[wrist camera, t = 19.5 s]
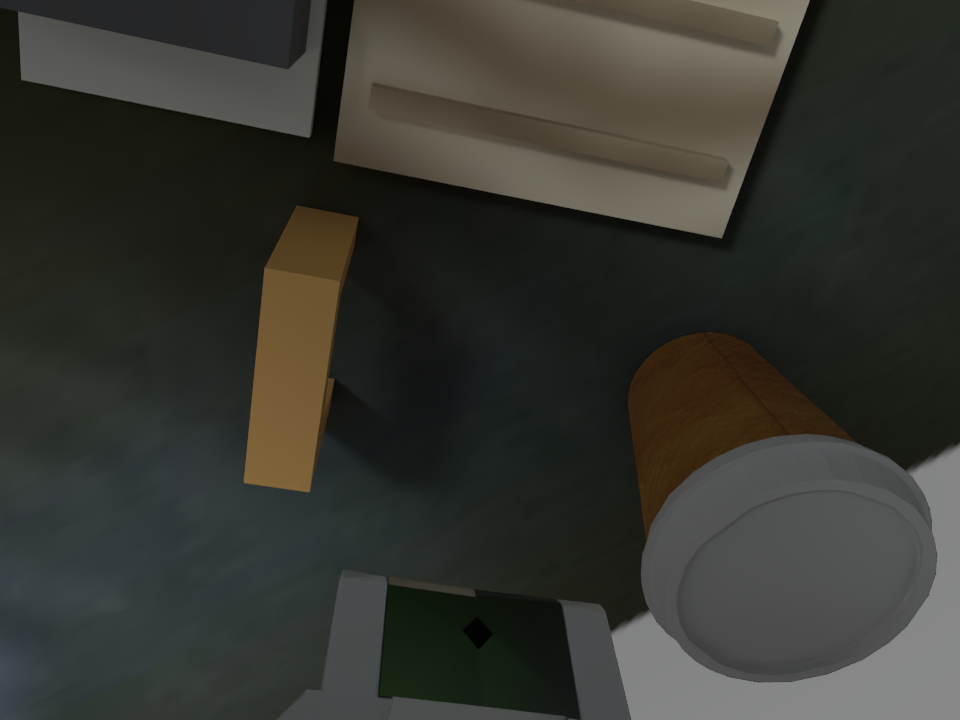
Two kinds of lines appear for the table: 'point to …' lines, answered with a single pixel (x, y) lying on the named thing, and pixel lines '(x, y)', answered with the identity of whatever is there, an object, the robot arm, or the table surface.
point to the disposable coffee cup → (768, 519)
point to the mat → (175, 73)
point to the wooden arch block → (297, 347)
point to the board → (569, 99)
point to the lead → (194, 23)
